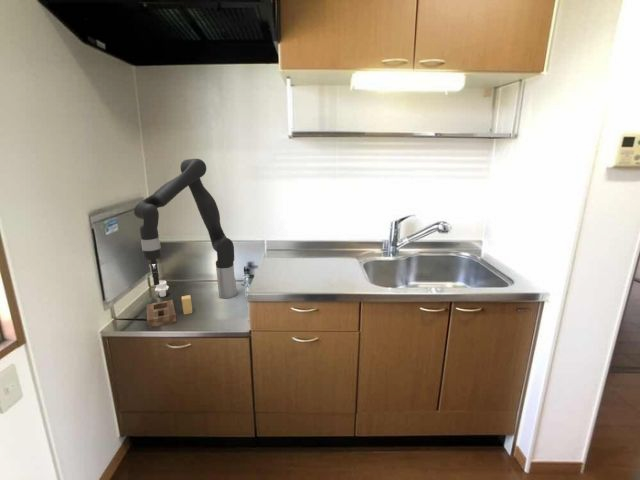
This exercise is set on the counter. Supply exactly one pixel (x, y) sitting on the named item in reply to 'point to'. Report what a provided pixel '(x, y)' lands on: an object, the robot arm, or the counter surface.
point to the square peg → (186, 304)
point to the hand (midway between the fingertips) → (156, 281)
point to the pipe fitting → (162, 288)
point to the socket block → (160, 313)
